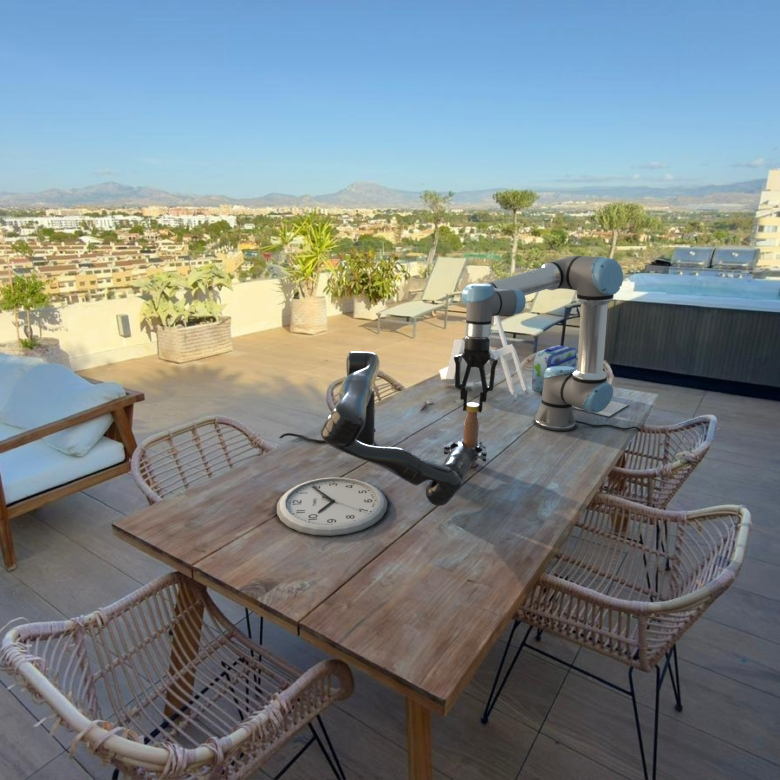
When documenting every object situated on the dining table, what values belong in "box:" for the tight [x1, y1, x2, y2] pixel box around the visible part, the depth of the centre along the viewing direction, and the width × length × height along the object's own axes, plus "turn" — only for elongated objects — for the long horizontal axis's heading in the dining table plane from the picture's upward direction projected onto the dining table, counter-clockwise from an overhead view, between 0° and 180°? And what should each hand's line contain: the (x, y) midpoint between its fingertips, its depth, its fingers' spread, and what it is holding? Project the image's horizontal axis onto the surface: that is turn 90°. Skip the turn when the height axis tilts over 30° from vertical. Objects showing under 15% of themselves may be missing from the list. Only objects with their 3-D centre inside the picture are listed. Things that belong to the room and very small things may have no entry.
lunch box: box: [531, 345, 577, 394], centre depth 245 cm, size 26×11×21 cm, turn 134°
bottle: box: [462, 411, 480, 468], centre depth 166 cm, size 5×5×20 cm
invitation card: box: [573, 400, 629, 418], centre depth 226 cm, size 21×1×15 cm
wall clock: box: [276, 476, 388, 537], centre depth 142 cm, size 30×2×30 cm
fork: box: [420, 396, 435, 411], centre depth 223 cm, size 3×16×2 cm, turn 160°
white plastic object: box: [438, 315, 531, 400], centre depth 245 cm, size 37×45×31 cm
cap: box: [465, 402, 479, 413], centre depth 163 cm, size 4×4×2 cm
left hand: (472, 442), depth 169 cm, fingers closed on bottle, 4 cm apart
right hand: (472, 410), depth 164 cm, fingers closed on cap, 4 cm apart
